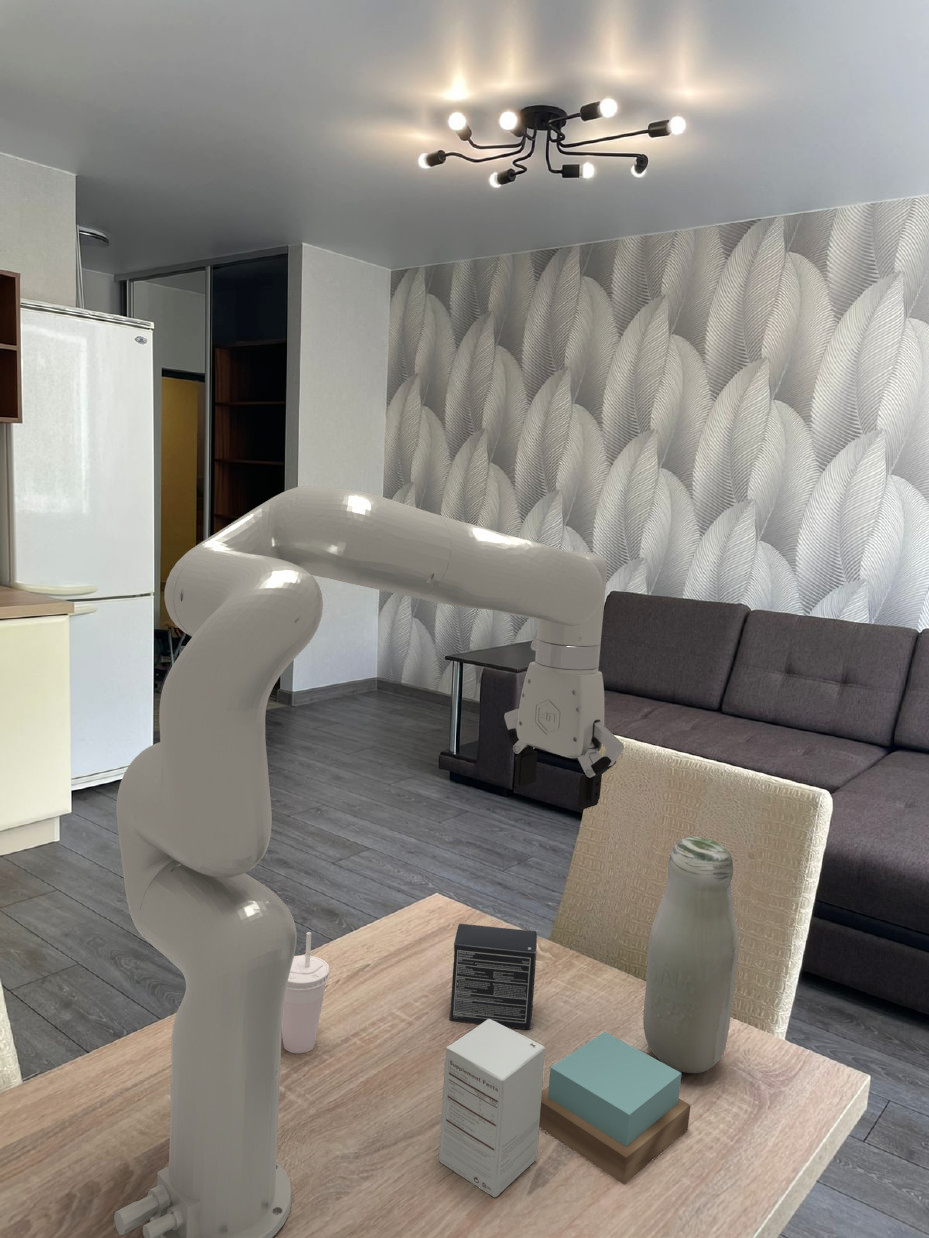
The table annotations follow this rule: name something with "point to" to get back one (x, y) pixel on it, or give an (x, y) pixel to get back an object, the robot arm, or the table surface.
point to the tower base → (605, 1148)
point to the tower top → (614, 1087)
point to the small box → (493, 975)
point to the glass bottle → (692, 959)
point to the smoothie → (303, 1001)
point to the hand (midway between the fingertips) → (555, 794)
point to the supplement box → (491, 1105)
